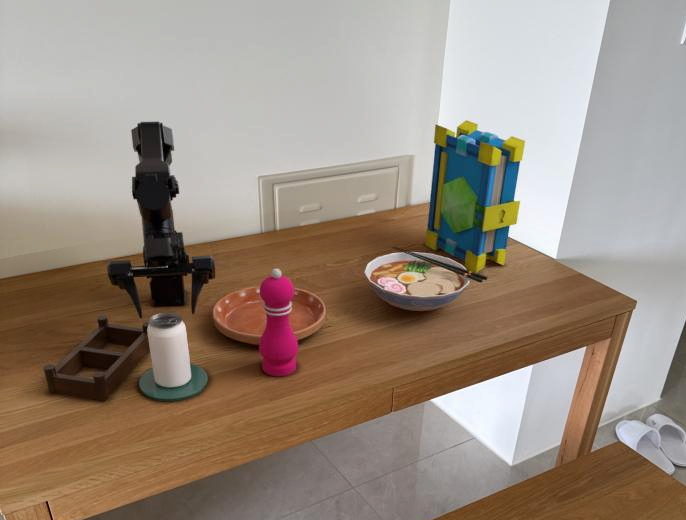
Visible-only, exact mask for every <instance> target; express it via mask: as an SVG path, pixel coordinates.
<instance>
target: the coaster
mask: <svg viewBox="0 0 686 520" xmlns="http://www.w3.org/2000/svg"><path fill="white" fill-rule="evenodd" d="M190 368H191V379H190V380H189V381H188V382H187V383H186V384H185V385H183V386H180V387H177V388H165V387H162V386H160V385H158V384H157V383H156V382H155V379H154V373H153V367H152V368H150V369H148V370H147V371H145V372H144V373H143V374H142V375H141V376H140V378H139V381H138V386H139V391H140V392H141V394H142V395H144V396H145V397H146V398H148V399H151V400H153V401H159V402H179V401H184V400H188V399H190V398H193V397H195V396H197V395H198V394H200V393H202V392H203V391H204V389H206V388H207V385H208V383H209V382H208V381H209V379H208V378H209V377H208V376H209V375H208V374H207V371H205V370H204V369H203V368H202V367H201V366H199V365H196V364H193V363H190Z"/></svg>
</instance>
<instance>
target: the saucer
mask: <svg viewBox="0 0 686 520" xmlns="http://www.w3.org/2000/svg"><path fill="white" fill-rule="evenodd" d="M260 286H261V285H258V286H252V287H246V288H242V289H238V290H236V291H232V292H230V293H228V294H226V295H225V296H223V297H221V298H220V299H219V300H218V301H217V302H216V303H215V304H214V306H213V308H212V320H213V324H214V326H215V328H216V329H217V331H219V332H220V333H221V334H222V335H223V336H226V337H227V338H229V339H233V340H235V341H239V342H241V343H245V344H249V345H255V346H259V343H260V339H261V336H262V334H263V332H264V330H265V328H266V324H267V315H266V313H265V312H264V310H263V308H264V306H263V303H264V301H263V300H262V298H261V296H260ZM291 303H292V305H291V307H292V310H291V312H290V313H289V323H290V327H291V329H292V331H293V332H294V334H295V336H296V338H297V341H298V342H299V341H300V340H302V339H305V338H307V337H309V336H311V335H313V334H315V333H317V331H319V330H320V329H321V328H322V327H323V325H324V323H325V321H326V318H327V317H326V315H327V308H326V304H325V303H324V301H323V300H322V299H321V298H320V297H319V296H317V295H316V294H314V293H312V292H311V291H308V290H305V289H302V288H298V287H294V296H293V298H292V300H291Z"/></svg>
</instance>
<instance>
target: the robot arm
mask: <svg viewBox="0 0 686 520" xmlns="http://www.w3.org/2000/svg"><path fill="white" fill-rule="evenodd" d="M130 132H131V143H132V149H133V151H134V153H136V154H137V158H138V161H139V162H138V163H137V164H136V165H135V168H134V171H135V172H134V176H131V194H132V199H133V200H136V203H137V207H138V211H139V215H140V218H141V227H142V238H143V247H142V256H143V265H135V266H133V265H132V262H131V260H130V259H129V260H126V259H125V260H111V261H109V262H108V264H107V265H106V269H107V277H108V278H109V281H110V283H111V286H114V287H118V288H119V290H121V291H122V290H123V291H124V290H125V291H126V293H127V294H128V296H129V297H130V299H131V301H132V304H133V305H134V307H135V310H136V312H137V314H138V317H139V319H143V310H142V305H141V302H140V297H139V292H138V288H137V285H136V284H137V283H136V281H135V278H143V277H145V278H146V279H149V288H150V295H151V300H153V306H154V307H161V306H167V307H168V306H185V305H186V300H187V299H186V298H187V290H186V289H185V287H186V286H185V279H184V277H188V275H191V295H190V308H191V314H192V315H195V312H196V309H197V304H198V302H199V301H198V300H199V297H200V294H201V292H202V289H203V287H204V285H208V284H209V282H210V281H212V280H215V279H216V265H215V258H214V257H213V256H212V255H210V254H209V255H208V254H207V255H195V256H193V255H192V256H191V260H192V262H190V256H189V255H190V254H188V253H187V250H186V249H185V243H184V233H183V231H181V232H180V231H178V232H177V230H175V220H174V219H175V218H174V211H173V207H172V206H173V205H172V201H173V200H174V199H175V198H177V195H180V187H179V181H178V179H177V178H176V176H175V175H174V174H171V169H170V168H171V167H170V166H171V164H172V163H173V156H172V154H173V153H172V152H174V151H175V144H174V143H175V142H174V133H173V129H172V128H170V127H168V126H166V125H164V124H163V122H160V121H140V122H137V126H136V127H134V128H132V129H130Z"/></svg>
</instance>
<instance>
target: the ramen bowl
mask: <svg viewBox="0 0 686 520" xmlns="http://www.w3.org/2000/svg"><path fill="white" fill-rule="evenodd" d="M391 248H392V249H394V250H395V251H399V252H392V253H387V254H384V255H380V256H377V257H376V258H374V259H373V260H371V261H370V262H368V263H367V265H366V266H365V270H364V275H365V276H366V279H367V280H368V282H369V284H370V286H371V288H372V289H373V290H374V292H375V294H376V295H377V296H378V297H379V298H380V299H382V300H383V301H384V302H386V303H388V304H389V305H391V306H393V307H395V308H399V309H402V310H406V311H411V312H412V311H413V312H425V311H426V312H427V311H433V310H436V309H440V308H443V307H446V306H448V305H449V304H452V302H453V301H455V300H456V299H457V298H458V297H459V296H460V295H461V294H462V293H463V292H464V291H465V290H466V289H467V287H468V286H469V284H470V281H471V280H472V281H475V282H478V283H481V284H482V283H483V282H484V281H488V276H486V275H483V274H480V273H478V272H477V273H474V272H472V271H470V270H469V269H467V268H465V267H464V266H465V265H463V264H461V263H459V262H457V261H455V260H453V259H451V258H449V257H445V256H442V255H438V254H434V253H429V252H428V253H427V252H417V251H410V250H406V249H404V248H401V247H397V246H391ZM483 280H484V281H483Z"/></svg>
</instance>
